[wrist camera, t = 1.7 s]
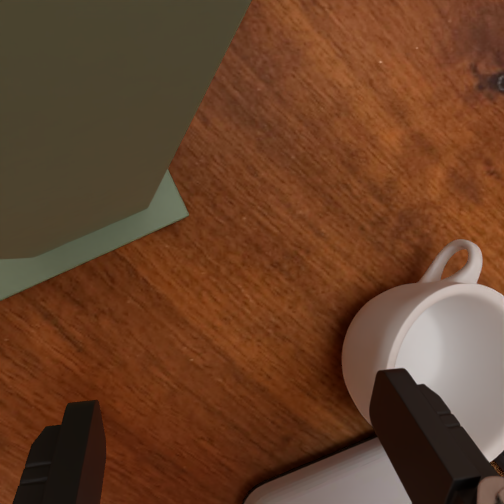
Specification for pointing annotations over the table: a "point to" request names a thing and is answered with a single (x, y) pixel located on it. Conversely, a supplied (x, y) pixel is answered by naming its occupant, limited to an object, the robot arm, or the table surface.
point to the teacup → (437, 345)
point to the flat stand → (96, 123)
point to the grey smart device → (337, 480)
